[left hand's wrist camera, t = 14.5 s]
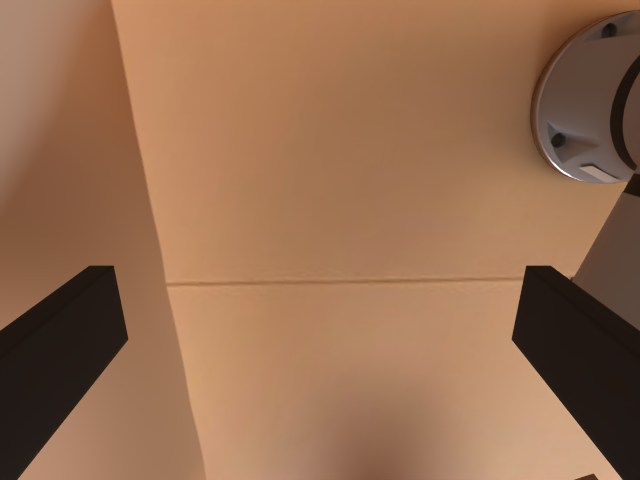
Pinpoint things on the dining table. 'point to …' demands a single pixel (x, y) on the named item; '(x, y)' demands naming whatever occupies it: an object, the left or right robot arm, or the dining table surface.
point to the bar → (588, 477)
